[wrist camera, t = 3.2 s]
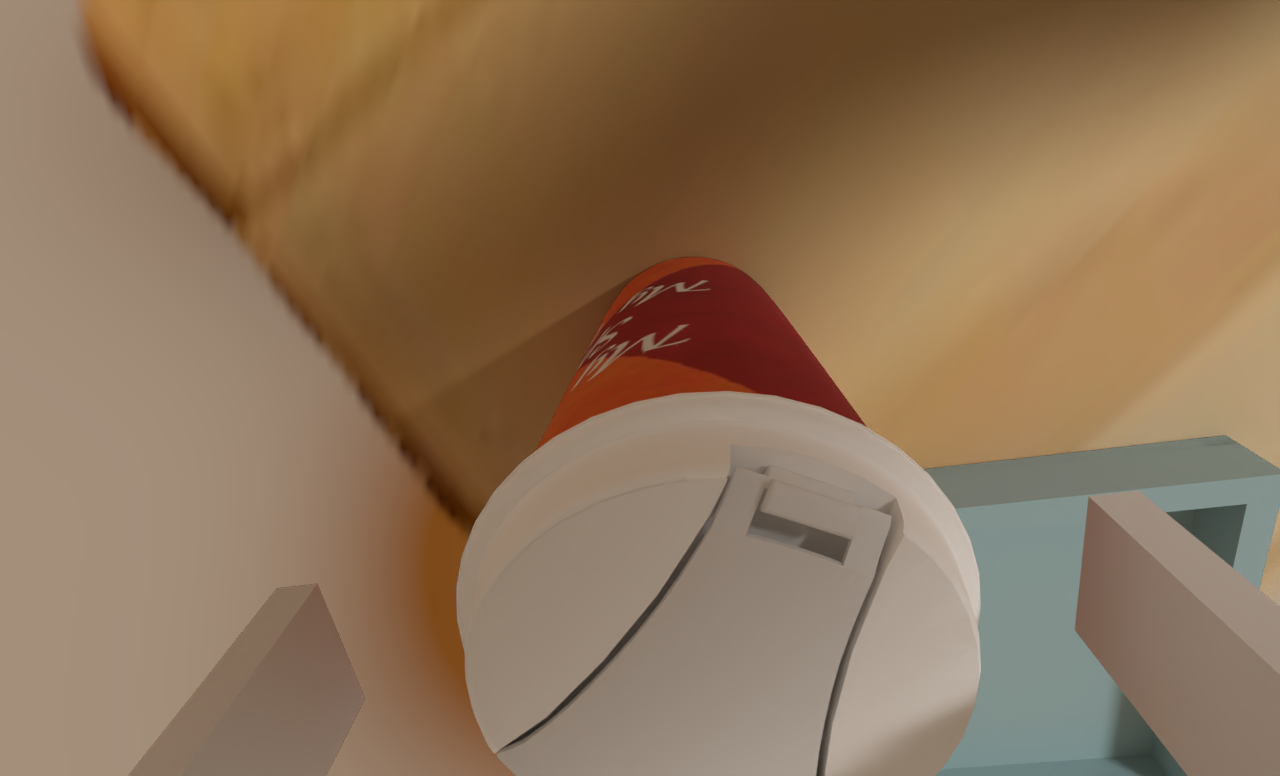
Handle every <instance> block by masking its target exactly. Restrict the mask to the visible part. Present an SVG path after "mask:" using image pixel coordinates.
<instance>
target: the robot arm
mask: <svg viewBox="0 0 1280 776" xmlns="http://www.w3.org/2000/svg"><path fill="white" fill-rule="evenodd" d="M1075 631H1076V632H1077V634H1078V635H1079V636H1080V638H1081V639H1082V640H1083V641H1084V643H1085V644H1086V645H1087V647H1088V648H1089V649H1090V650H1091V652H1092V653H1093V654H1094V656H1095V657H1096V658H1097V660H1098V661H1099V662H1100V663H1101V665H1102V666H1103V667H1104V669H1105V670H1106V671H1107V672H1108V674H1109V675H1110V676H1111V678H1112V679H1113V680H1114V681H1115V683H1116V684H1117V685H1118V687H1119V688H1120V689H1121V691H1122V692H1123V693H1124V694H1125V696H1126V697H1127V698H1128V700H1129V701H1130V702H1131V703H1132V705H1133V706H1134V707H1135V709H1136V710H1137V711H1138V712H1139V714H1140V715H1141V716H1142V718H1143V719H1144V720H1145V722H1146V723H1147V724H1148V725H1149V727H1150V728H1151V729H1152V731H1153V732H1154V733H1155V734H1156V736H1157V737H1158V738H1159V740H1160V741H1161V742H1162V743H1163V745H1164V746H1165V747H1166V749H1167V750H1168V751H1169V752H1170V754H1171V755H1172V756H1173V758H1174V759H1175V760H1176V762H1177V763H1178V764H1179V765H1180V767H1181V768H1182V769H1183V771H1184V772H1185V773H1186V774H1187V776H1280V606H1279V605H1277V604H1276V603H1275V602H1274V601H1272V600H1271V599H1270V598H1269V597H1268V596H1266V595H1265V594H1264V593H1263V592H1261V591H1260V590H1259V589H1258V588H1257V587H1255V586H1254V585H1253V584H1252V583H1251V582H1249V581H1248V580H1247V579H1246V578H1244V577H1243V576H1242V575H1241V574H1240V573H1238V572H1237V571H1236V570H1235V569H1234V568H1232V567H1231V566H1230V565H1229V564H1227V563H1226V562H1225V561H1224V560H1223V559H1221V558H1220V557H1219V556H1218V555H1217V554H1215V553H1214V552H1213V551H1212V550H1210V549H1209V548H1208V547H1207V546H1206V545H1204V544H1203V543H1202V542H1201V541H1199V540H1198V539H1197V538H1196V537H1195V536H1193V535H1192V534H1191V533H1190V532H1189V531H1187V530H1186V529H1185V528H1184V527H1182V526H1181V525H1180V524H1179V523H1178V522H1176V521H1175V520H1174V519H1173V518H1172V517H1170V516H1169V515H1168V514H1167V513H1165V512H1164V511H1163V510H1162V509H1161V508H1159V507H1158V506H1157V505H1156V504H1155V503H1153V502H1152V501H1151V500H1150V499H1148V498H1147V497H1146V496H1145V495H1144V494H1142V493H1141V492H1140V491H1131V492H1122V493H1113V494H1104V495H1096V496H1089V498H1088V507H1087V517H1086V526H1085V536H1084V545H1083V555H1082V564H1081V574H1080V583H1079V593H1078V602H1077V612H1076V621H1075ZM364 700H365V697H364V695H363V692H362V690H361V687H360V685H359V682H358V680H357V678H356V676H355V673H354V670H353V668H352V666H351V663H350V661H349V658H348V656H347V654H346V651H345V649H344V646H343V644H342V642H341V639H340V637H339V634H338V632H337V630H336V627H335V625H334V622H333V620H332V618H331V615H330V613H329V610H328V608H327V606H326V603H325V601H324V598H323V596H322V594H321V591H320V589H319V586H318V584H310V585H300V586H292V587H283V588H277V589H276V590H275V591H274V593H273V594H272V595H271V596H270V598H269V599H268V600H267V601H266V603H265V604H264V605H263V606H262V608H261V609H260V610H259V612H258V613H257V614H256V615H255V616H254V618H253V619H252V620H251V622H250V623H249V624H248V625H247V627H246V628H245V629H244V630H243V632H242V633H241V634H240V635H239V637H238V638H237V639H236V640H235V642H234V643H233V644H232V646H231V647H230V648H229V649H228V651H227V652H226V653H225V654H224V656H223V657H222V658H221V659H220V661H219V662H218V663H217V664H216V666H215V667H214V668H213V670H212V671H211V672H210V673H209V674H208V676H207V677H206V678H205V680H204V681H203V682H202V683H201V685H200V686H199V687H198V688H197V690H196V691H195V692H194V693H193V695H192V696H191V697H190V698H189V700H188V701H187V702H186V703H185V705H184V706H183V707H182V708H181V710H180V711H179V712H178V714H177V715H176V716H175V717H174V719H173V720H172V721H171V722H170V724H169V725H168V726H167V727H166V729H165V730H164V731H163V733H162V734H161V735H160V736H159V738H158V739H157V740H156V741H155V742H154V744H153V745H152V746H151V748H150V749H149V750H148V751H147V753H146V754H145V755H144V756H143V758H142V759H141V760H140V761H139V763H138V764H137V765H136V767H135V768H134V769H133V770H132V771H131V773H130V774H129V776H327V774H328V772H329V769H330V768H331V766H332V764H333V762H334V760H335V757H336V756H337V754H338V752H339V750H340V748H341V746H342V744H343V742H344V740H345V738H346V736H347V734H348V732H349V730H350V728H351V726H352V724H353V722H354V720H355V718H356V716H357V713H358V712H359V710H360V708H361V706H362V704H363V702H364Z"/></svg>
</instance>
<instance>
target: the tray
mask: <svg viewBox="0 0 1280 776" xmlns="http://www.w3.org/2000/svg"><path fill="white" fill-rule="evenodd" d="M924 470H925V471H926V472H927V473H928V474H929V475H930V476H931V477H932V479H933V480H934V481H935V483H936V484H937V485H938V486H939V488H940V489H941V490H942V492H943V493H944V494H945V495H946V497H947V498H948V499H949V501H950V502H951V503H952V505H953V506H954V508H955V510H956V512H957V514H958V516H959V518H960V520H961V522H962V524H963V526H964V528H965V530H966V532H967V534H968V536H969V538H970V540H971V544H972V548H973V551H974V555H975V559H976V563H977V567H978V570H979V579H980V600H981V609H980V616H979V622H978V631H979V638H980V658H981V673H980V679H979V685H978V691H977V697H976V702H975V707H974V710H973V713H972V715H971V718H970V720H969V723H968V726H967V728H966V731H965V733H964V736H963V738H962V739H961V741H960V742H959V744H958V746H957V747H956V749H955V750H954V752H953V754H952V755H951V757H950V758H949V760H948V762H947V763H946V764H945V765H944V766H943V768H942V769H941V770H940V771H939V772H938V773H937V774H936V775H935V776H1187V774H1186V773H1185V772H1184V771H1183V769H1182V768H1181V767H1180V765H1179V764H1178V763H1177V762H1176V760H1175V759H1174V758H1173V756H1172V755H1171V754H1170V752H1169V751H1168V750H1167V749H1166V747H1165V746H1164V745H1163V743H1162V742H1161V741H1160V740H1159V738H1158V737H1157V736H1156V734H1155V733H1154V732H1153V731H1152V729H1151V728H1150V727H1149V725H1148V724H1147V723H1146V722H1145V720H1144V719H1143V718H1142V716H1141V715H1140V714H1139V712H1138V711H1137V710H1136V709H1135V707H1134V706H1133V705H1132V703H1131V702H1130V701H1129V700H1128V698H1127V697H1126V696H1125V694H1124V693H1123V692H1122V691H1121V689H1120V688H1119V687H1118V685H1117V684H1116V683H1115V681H1114V680H1113V679H1112V678H1111V676H1110V675H1109V674H1108V672H1107V671H1106V670H1105V669H1104V667H1103V666H1102V665H1101V663H1100V662H1099V661H1098V660H1097V658H1096V657H1095V656H1094V654H1093V653H1092V652H1091V650H1090V649H1089V648H1088V647H1087V645H1086V644H1085V643H1084V641H1083V640H1082V639H1081V638H1080V636H1079V635H1078V634H1077V632H1076V631H1075V621H1076V612H1077V602H1078V593H1079V583H1080V574H1081V564H1082V555H1083V545H1084V536H1085V526H1086V517H1087V507H1088V498H1089V496H1096V495H1104V494H1113V493H1122V492H1131V491H1140V492H1141V493H1142V494H1144V495H1145V496H1146V497H1147V498H1148V499H1150V500H1151V501H1152V502H1153V503H1155V504H1156V505H1157V506H1158V507H1159V508H1161V509H1162V510H1163V511H1164V512H1165V513H1167V514H1168V515H1169V516H1170V517H1172V518H1173V519H1174V520H1175V521H1176V522H1178V523H1179V524H1180V525H1181V526H1182V527H1184V528H1185V529H1186V530H1187V531H1189V532H1190V533H1191V534H1192V535H1193V536H1195V537H1196V538H1197V539H1198V540H1199V541H1201V542H1202V543H1203V544H1204V545H1206V546H1207V547H1208V548H1209V549H1210V550H1212V551H1213V552H1214V553H1215V554H1217V555H1218V556H1219V557H1220V558H1221V559H1223V560H1224V561H1225V562H1226V563H1227V564H1229V565H1230V566H1231V567H1232V568H1234V569H1235V570H1236V571H1237V572H1238V573H1240V574H1241V575H1242V576H1243V577H1244V578H1246V579H1247V580H1248V581H1249V582H1251V583H1252V584H1253V585H1254V586H1255V587H1257V588H1258V589H1260V585H1261V580H1262V576H1263V572H1264V568H1265V564H1266V560H1267V555H1268V551H1269V547H1270V543H1271V539H1272V535H1273V531H1274V526H1275V522H1276V518H1277V514H1278V510H1279V506H1280V469H1279V468H1278V467H1276V466H1274V465H1273V464H1271V463H1269V462H1268V461H1266V460H1265V459H1263V458H1261V457H1260V456H1258V455H1257V454H1255V453H1253V452H1252V451H1250V450H1249V449H1247V448H1245V447H1244V446H1242V445H1241V444H1239V443H1237V442H1236V441H1234V440H1233V439H1231V438H1229V437H1228V436H1226V435H1225V436H1216V437H1207V438H1198V439H1189V440H1180V441H1171V442H1163V443H1154V444H1145V445H1136V446H1127V447H1118V448H1109V449H1100V450H1091V451H1083V452H1074V453H1065V454H1056V455H1047V456H1038V457H1029V458H1020V459H1011V460H1002V461H994V462H985V463H976V464H967V465H958V466H949V467H940V468H931V469H924Z"/></svg>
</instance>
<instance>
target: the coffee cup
mask: <svg viewBox="0 0 1280 776" xmlns="http://www.w3.org/2000/svg"><path fill="white" fill-rule="evenodd" d="M456 601H457V602H456V603H457V622H458V627H459V631H460V636H461V640H462V644H463V649H464V652H465V679H466V683H467V688H468V693H469V697H470V701H471V706H472V710H473V712H474V715H475V718H476V720H477V722H478V724H479V727H480V729H481V731H482V733H483V735H484V738H485V740H486V743H487V744H488V746H489V747H490V748H491V750H492V751H493V753H496V752H497V751H498V753H497V757H498V758H499V759H500V760H501V761H502V762H503V763H504V764H505V765H506V766H507V767H508V768H509V769H510V770H511V771H512V772H513V773H514V774H515V775H516V776H935V775H936V774H937V773H938V772H939V771H940V770H941V769H942V768H943V766H944V765H945V764H946V763H947V762H948V760H949V758H950V757H951V755H952V754H953V752H954V750H955V749H956V747H957V746H958V744H959V742H960V741H961V739H962V738H963V736H964V733H965V731H966V728H967V726H968V723H969V720H970V718H971V715H972V713H973V710H974V707H975V702H976V697H977V691H978V685H979V679H980V673H981V658H980V638H979V631H978V622H979V616H980V609H981V600H980V579H979V570H978V567H977V563H976V559H975V555H974V551H973V548H972V544H971V540H970V538H969V536H968V534H967V532H966V530H965V528H964V526H963V524H962V522H961V520H960V518H959V516H958V514H957V512H956V510H955V508H954V506H953V505H952V503H951V502H950V501H949V499H948V498H947V497H946V495H945V494H944V493H943V492H942V490H941V489H940V488H939V486H938V485H937V484H936V483H935V481H934V480H933V479H932V477H931V476H930V475H929V474H928V473H927V472H926V471H925V470H924V469H923V468H922V467H920V466H919V465H918V464H917V463H916V462H915V461H914V460H913V459H911V458H910V457H909V456H908V455H907V454H906V453H905V452H904V451H903V450H901V449H900V448H899V447H898V446H896V445H895V444H893V443H891V442H890V441H888V440H887V439H885V438H883V437H882V436H880V435H879V434H877V433H875V432H874V431H872V430H870V429H869V428H867V427H866V425H865V424H864V423H863V421H862V420H861V418H860V417H859V416H858V414H857V413H856V412H855V410H854V409H853V408H852V406H851V405H850V403H849V402H848V401H847V399H846V398H845V397H844V395H843V394H842V393H841V391H840V390H839V388H838V387H837V386H836V384H835V383H834V382H833V380H832V379H831V377H830V376H829V375H828V373H827V372H826V371H825V369H824V368H823V367H822V365H821V364H820V362H819V361H818V360H817V358H816V357H815V356H814V354H813V353H812V352H811V350H810V349H809V348H808V346H807V345H806V344H805V342H804V341H803V340H802V338H801V337H800V335H799V334H798V333H797V331H796V330H795V329H794V327H793V326H792V325H791V323H790V322H789V321H788V319H787V318H786V317H785V316H784V314H783V313H782V312H781V310H780V309H779V308H778V306H777V305H776V304H775V303H774V301H773V300H772V299H771V298H770V297H769V295H768V294H767V293H766V292H765V291H764V290H763V288H762V287H761V286H760V285H759V284H757V283H756V282H755V281H754V280H753V279H752V278H751V277H750V276H748V275H747V274H746V273H744V272H743V271H741V270H739V269H738V268H736V267H734V266H732V265H730V264H727V263H725V262H722V261H718V260H715V259H710V258H704V257H682V258H676V259H671V260H667V261H664V262H661V263H659V264H656V265H654V266H652V267H650V268H648V269H647V270H645V271H643V272H642V273H640V274H639V275H638V276H636V277H635V278H634V279H633V280H632V281H630V282H629V283H628V284H627V285H626V286H625V287H624V289H623V290H622V291H621V292H620V294H619V295H618V296H617V298H616V299H615V301H614V302H613V304H612V305H611V307H610V309H609V310H608V312H607V314H606V316H605V317H604V319H603V321H602V323H601V325H600V326H599V328H598V330H597V332H596V334H595V336H594V338H593V340H592V341H591V343H590V345H589V347H588V349H587V351H586V353H585V355H584V357H583V359H582V361H581V363H580V365H579V367H578V369H577V370H576V372H575V374H574V376H573V378H572V380H571V382H570V384H569V386H568V388H567V390H566V392H565V394H564V396H563V398H562V400H561V402H560V404H559V406H558V408H557V410H556V412H555V414H554V416H553V418H552V420H551V422H550V424H549V426H548V428H547V430H546V432H545V434H544V435H543V437H542V439H541V441H540V443H539V445H538V447H537V449H536V451H535V452H534V453H532V454H531V455H530V456H528V457H527V458H526V459H525V460H523V461H522V462H521V463H520V464H519V465H518V466H517V467H516V468H515V469H514V470H513V471H512V472H511V474H510V475H509V476H508V477H507V478H506V479H505V480H504V481H503V482H502V483H501V484H500V485H499V486H498V488H497V489H496V490H495V491H494V493H493V494H492V496H491V497H490V499H489V500H488V502H487V504H486V505H485V507H484V508H483V510H482V511H481V513H480V515H479V516H478V518H477V519H476V521H475V523H474V526H473V528H472V531H471V533H470V536H469V538H468V541H467V543H466V546H465V549H464V551H463V554H462V557H461V563H460V569H459V574H458V580H457V586H456Z"/></svg>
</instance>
